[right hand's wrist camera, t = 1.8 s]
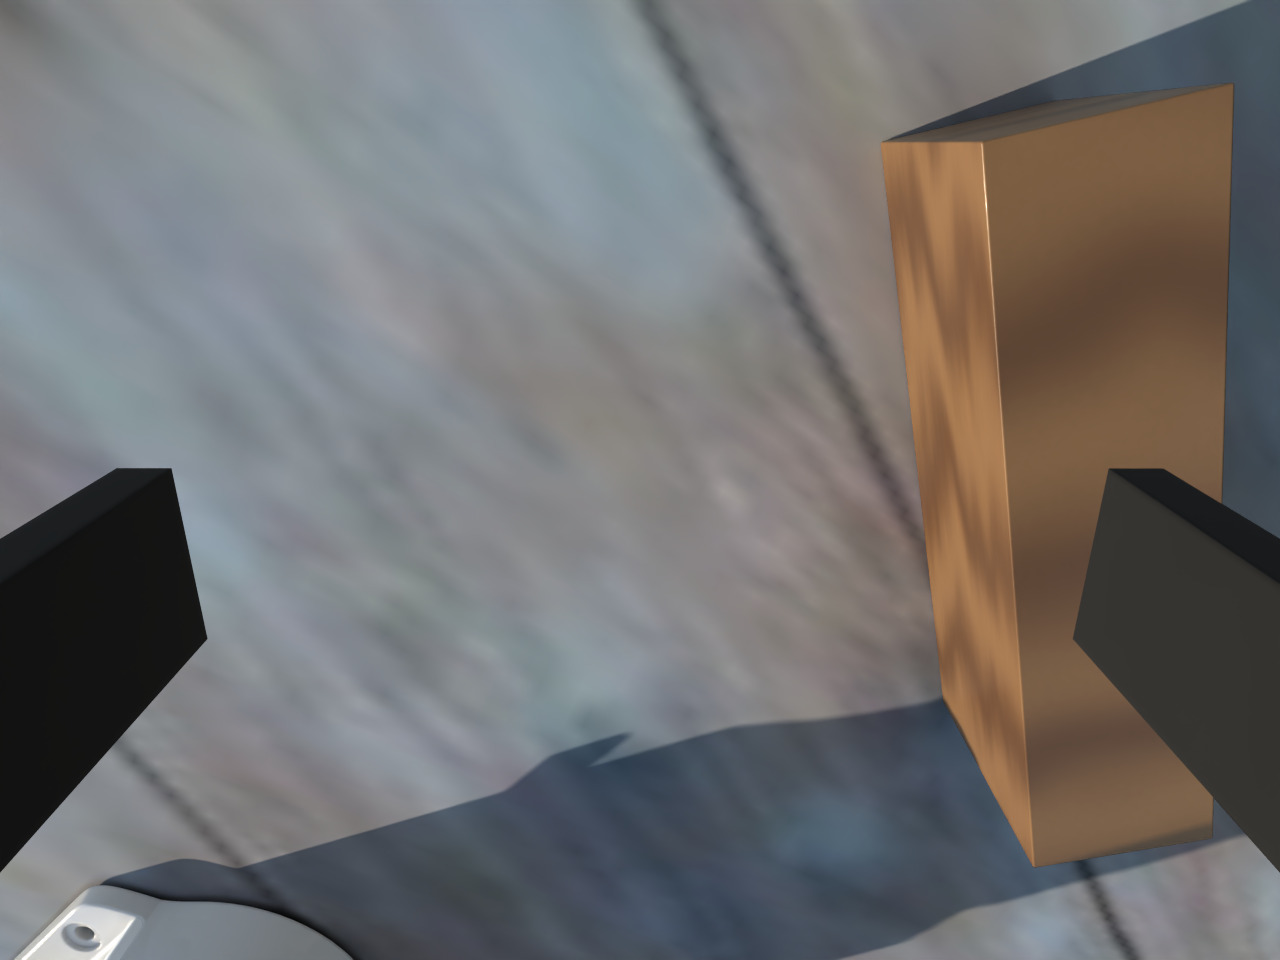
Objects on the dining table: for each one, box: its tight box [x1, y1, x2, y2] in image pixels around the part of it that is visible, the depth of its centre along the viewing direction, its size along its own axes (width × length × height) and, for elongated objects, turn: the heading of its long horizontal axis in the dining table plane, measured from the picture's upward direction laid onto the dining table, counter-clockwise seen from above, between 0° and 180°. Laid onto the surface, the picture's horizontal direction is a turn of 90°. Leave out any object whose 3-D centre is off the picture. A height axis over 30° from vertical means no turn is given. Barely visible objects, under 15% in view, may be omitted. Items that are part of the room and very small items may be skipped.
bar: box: [881, 83, 1234, 867], centre depth 26 cm, size 22×6×8 cm, turn 13°
